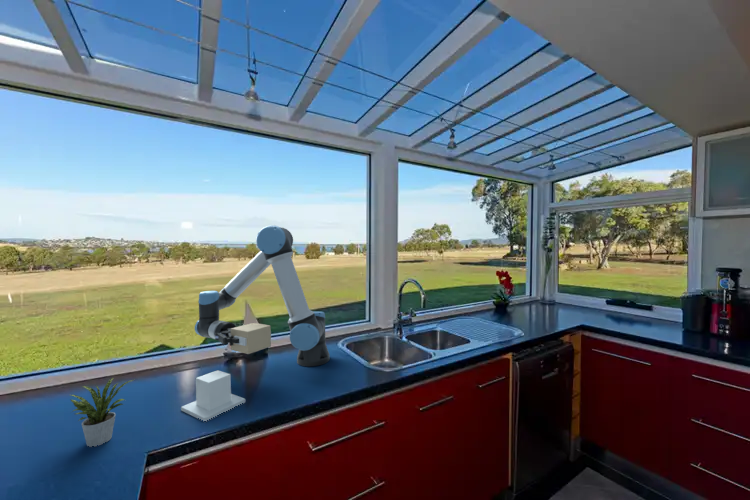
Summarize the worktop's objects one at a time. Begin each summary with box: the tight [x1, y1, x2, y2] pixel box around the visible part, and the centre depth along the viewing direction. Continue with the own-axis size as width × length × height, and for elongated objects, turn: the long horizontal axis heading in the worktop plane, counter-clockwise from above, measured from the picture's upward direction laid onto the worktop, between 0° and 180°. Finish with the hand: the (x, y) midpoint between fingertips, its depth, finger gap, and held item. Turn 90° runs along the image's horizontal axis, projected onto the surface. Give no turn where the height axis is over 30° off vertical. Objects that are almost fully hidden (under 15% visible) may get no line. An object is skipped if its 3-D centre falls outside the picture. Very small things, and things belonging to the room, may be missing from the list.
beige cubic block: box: [230, 322, 272, 355], centre depth 117 cm, size 10×10×8 cm
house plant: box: [70, 377, 134, 448], centre depth 87 cm, size 14×14×16 cm
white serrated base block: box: [180, 370, 246, 422], centre depth 104 cm, size 14×14×10 cm
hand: (258, 338), depth 114 cm, fingers closed on beige cubic block, 10 cm apart
